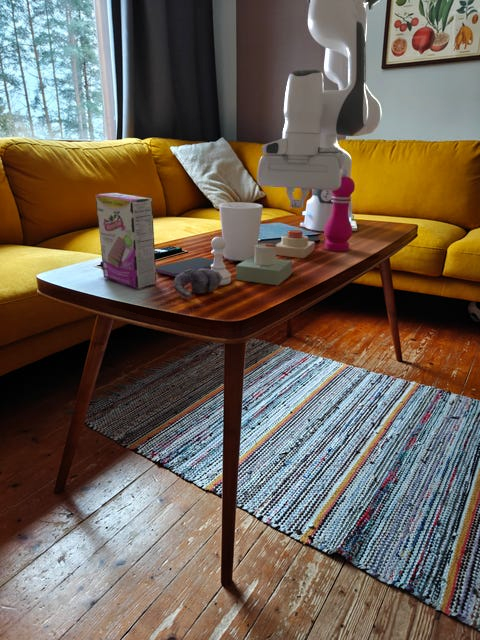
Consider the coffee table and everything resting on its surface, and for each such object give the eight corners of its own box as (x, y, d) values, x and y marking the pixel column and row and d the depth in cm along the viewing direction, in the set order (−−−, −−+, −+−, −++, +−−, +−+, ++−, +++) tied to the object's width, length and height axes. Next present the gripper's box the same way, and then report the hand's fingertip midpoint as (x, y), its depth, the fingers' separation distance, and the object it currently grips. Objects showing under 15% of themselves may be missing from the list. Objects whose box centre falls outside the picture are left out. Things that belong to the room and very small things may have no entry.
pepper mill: (348, 246, 122) (357, 169, 115) (352, 252, 115) (361, 170, 108) (321, 245, 123) (328, 168, 115) (323, 251, 116) (330, 170, 109)
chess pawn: (207, 286, 87) (207, 239, 83) (204, 278, 91) (203, 234, 88) (233, 285, 88) (233, 239, 84) (228, 277, 92) (228, 234, 89)
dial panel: (252, 269, 99) (252, 255, 98) (291, 274, 95) (292, 259, 94) (235, 279, 91) (236, 264, 90) (278, 285, 88) (278, 270, 87)
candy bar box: (101, 278, 90) (93, 194, 84) (122, 273, 94) (116, 192, 87) (137, 290, 83) (131, 199, 77) (158, 284, 87) (153, 197, 81)
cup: (227, 267, 100) (228, 208, 95) (213, 257, 108) (213, 203, 104) (268, 263, 103) (270, 207, 99) (251, 254, 112) (252, 201, 107)
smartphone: (223, 261, 101) (176, 273, 90) (223, 266, 102) (176, 278, 90) (199, 256, 105) (151, 267, 94) (199, 261, 106) (151, 272, 94)
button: (290, 236, 115) (290, 229, 115) (303, 237, 114) (304, 230, 114) (285, 238, 112) (286, 231, 112) (299, 240, 111) (300, 233, 110)
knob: (250, 263, 91) (251, 245, 90) (259, 259, 95) (259, 241, 93) (271, 266, 89) (272, 247, 88) (278, 261, 93) (279, 243, 92)
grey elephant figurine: (179, 306, 79) (220, 295, 86) (191, 288, 76) (233, 278, 82) (164, 283, 81) (205, 274, 88) (175, 264, 77) (217, 256, 84)
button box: (285, 246, 120) (285, 232, 119) (314, 250, 117) (315, 234, 116) (272, 254, 112) (273, 238, 110) (303, 258, 109) (305, 241, 107)
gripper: (347, 148, 104) (341, 209, 109) (265, 146, 112) (262, 203, 117) (342, 148, 99) (336, 212, 104) (255, 145, 106) (253, 205, 111)
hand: (296, 207), depth 110 cm, fingers closed
